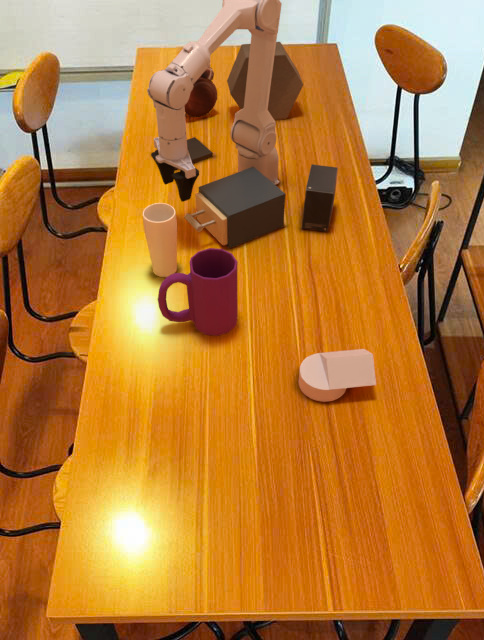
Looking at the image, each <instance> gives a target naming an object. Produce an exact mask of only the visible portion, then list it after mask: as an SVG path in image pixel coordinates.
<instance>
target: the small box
mask: <svg viewBox="0 0 484 640" xmlns="http://www.w3.org/2000/svg"><path fill="white" fill-rule="evenodd" d="M338 169H339V168H338V167H337V166H329V165H321V164H313V163H312V164H311V165H310V169H309V174H308V178H307V182H306V187H305V192H304V202H303V213H302V221H301V229H302V230H310V231H316V232H317V231H318V232H328V231H329V228H330V224H331V220H332V215H333V210H334V204H335V198H336V190H337V181H338Z"/></svg>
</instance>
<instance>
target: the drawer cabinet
mask: <svg viewBox="0 0 484 640" xmlns="http://www.w3.org/2000/svg"><path fill="white" fill-rule="evenodd" d="M199 192H200V193H201V194H202V195H203V196H204V197H205V198H207V199H208V200H209V201H210V202H211V203H212V204H213V205H215V206H216V207H217V208H218V209H219V210H220V211H221V212H222V213H223V214H224V215H225V216H226V217H227V234H228V244H226V245H225V246H226V248H228V249H229V250H230V249H233V248H234V247H237V246H239V245H242V244H244V243H247V242H249V241H252V240H254V239H256V238H259V237H262V236H264V235H267V234H269V233H271V232H273V231H276V230H279V229H281V228H283V227H284V225H285V208H286V192H284V191H283V190H282V189H281V188H280V187H278V186H277V184H276V185H275V184H274V183H272V182H271V181H270V180H269V179H268V178H266V177H265V176H264V175H263V174H262V173H260V172H259V171H258V170H257V169H256V168H255V167H251V168H248V169H246V170H243V171H240V172H238V171H237V172H234V173H231V174H230V175H227V176H224V177H221V178H219V179H216V180H213V181H211V182H207V183H205V184H203V185H199V186H198V193H199Z"/></svg>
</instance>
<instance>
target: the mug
mask: <svg viewBox="0 0 484 640" xmlns="http://www.w3.org/2000/svg"><path fill="white" fill-rule="evenodd" d="M164 278H165V279H163V280H162V281H161V283H160V286H159V288H158V295H157V303H158V308H159V311H160V314H161V316H162V317H164V318H165V319H166V320H168V321H169V322H174V323H188V322H192V323H194V327H195V329H196V331H198V332H201V333H202V334H204V335H206V336H217V337H218V336H221V335H225V334H227V333H230V332H231V331H232V330H233V329H235V327H236V326H237V322H238V316H239V315H238V311H239V309H238V306H239V305H238V303H239V302H238V294H239V293H238V259H236V257H235V256H234V254H233V253H232V252H231V251H227V250H226V249H223V248H212V247H209V248H206V249H202V250H198V251H197V252H196V253H195V254H194V255H192V256H191V257H190V259H189V273H184V272H175V274H171V275H169V276H168V277H164ZM177 283H179V284H182V285H185V286H186V295H187V302H188V303H187V304H188V308H186V309H182V310H180V311H174V310H171V309H169V307H168V303H167V302H168V301H167V295H168V294H167V293H168V290H169V288H170V287H171V286H173V285H174V284H177Z"/></svg>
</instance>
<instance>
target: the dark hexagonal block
mask: <svg viewBox="0 0 484 640" xmlns="http://www.w3.org/2000/svg"><path fill="white" fill-rule="evenodd" d="M250 44H251V43H242V44H241V45H240V47H239V50H238V52H237V54H236V58H235V60H234V62H233V64H232V66H231V70H230V72H229V74H228V77H227V79H226V82H227V87H228V91H229V94H230V96H231V98H232V99H233V100H234V102H235V103H236V105H237V107H238V108H239V110H241V109H243V108H244V101H245V92H246V82H247V73H248V63H249V54H250ZM303 87H304V82H303V79H302V77H301V75H300V72H299V70H298V68H297V67H296V65H295V63H294V62H293V60H292V58H291V57H290V55H289V54H288V52H287V50H286V49H285V47H284V46H283V44H282V42H281V41H276V48H275V55H274V63H273V71H272V78H271V86H270V94H269V102H268V111H269V113H270V114H271V116H272V117H273V119H274V120H275V121H280V120H281V121H282V120H287V119H288V118H289V116H290V114H291V111H292V109H293V108H294V105H295V103H296V101H297V99H298V97H299V95H300V93H301V91H302V88H303Z"/></svg>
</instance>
